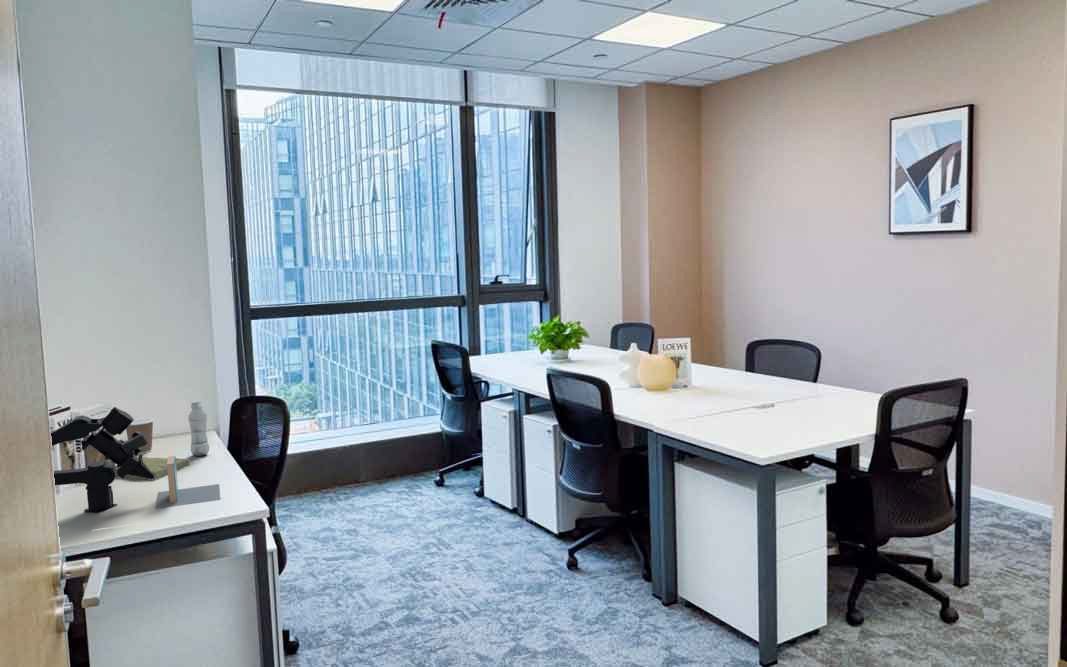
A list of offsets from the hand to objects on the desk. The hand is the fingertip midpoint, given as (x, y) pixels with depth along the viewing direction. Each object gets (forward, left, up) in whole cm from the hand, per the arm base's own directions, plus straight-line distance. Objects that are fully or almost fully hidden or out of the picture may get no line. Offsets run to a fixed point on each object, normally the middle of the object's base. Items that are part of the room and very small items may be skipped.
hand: (153, 477), depth 238 cm
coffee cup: (+55, +49, -8) cm, 74 cm away
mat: (+5, -8, -8) cm, 12 cm away
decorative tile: (+30, +26, -8) cm, 40 cm away
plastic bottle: (+52, +21, -8) cm, 57 cm away
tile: (+3, -4, -7) cm, 9 cm away
